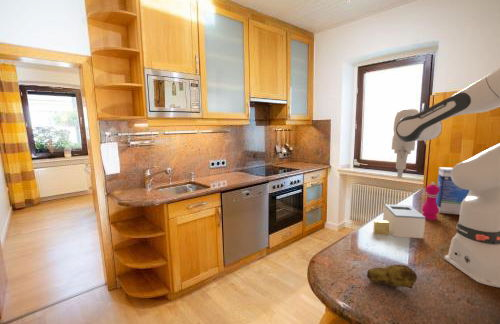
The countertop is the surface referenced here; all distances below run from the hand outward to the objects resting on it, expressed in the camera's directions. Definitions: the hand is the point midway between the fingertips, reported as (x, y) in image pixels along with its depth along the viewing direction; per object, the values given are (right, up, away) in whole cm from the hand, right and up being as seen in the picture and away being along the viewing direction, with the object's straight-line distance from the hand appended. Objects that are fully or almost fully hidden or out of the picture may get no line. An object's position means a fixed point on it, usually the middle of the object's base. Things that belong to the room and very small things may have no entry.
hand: (399, 175), depth 114 cm
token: (-8, -27, +2) cm, 28 cm away
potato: (-25, -33, -36) cm, 55 cm away
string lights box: (+47, -23, +29) cm, 60 cm away
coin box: (+4, -27, +6) cm, 28 cm away
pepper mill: (+29, -24, +21) cm, 43 cm away
